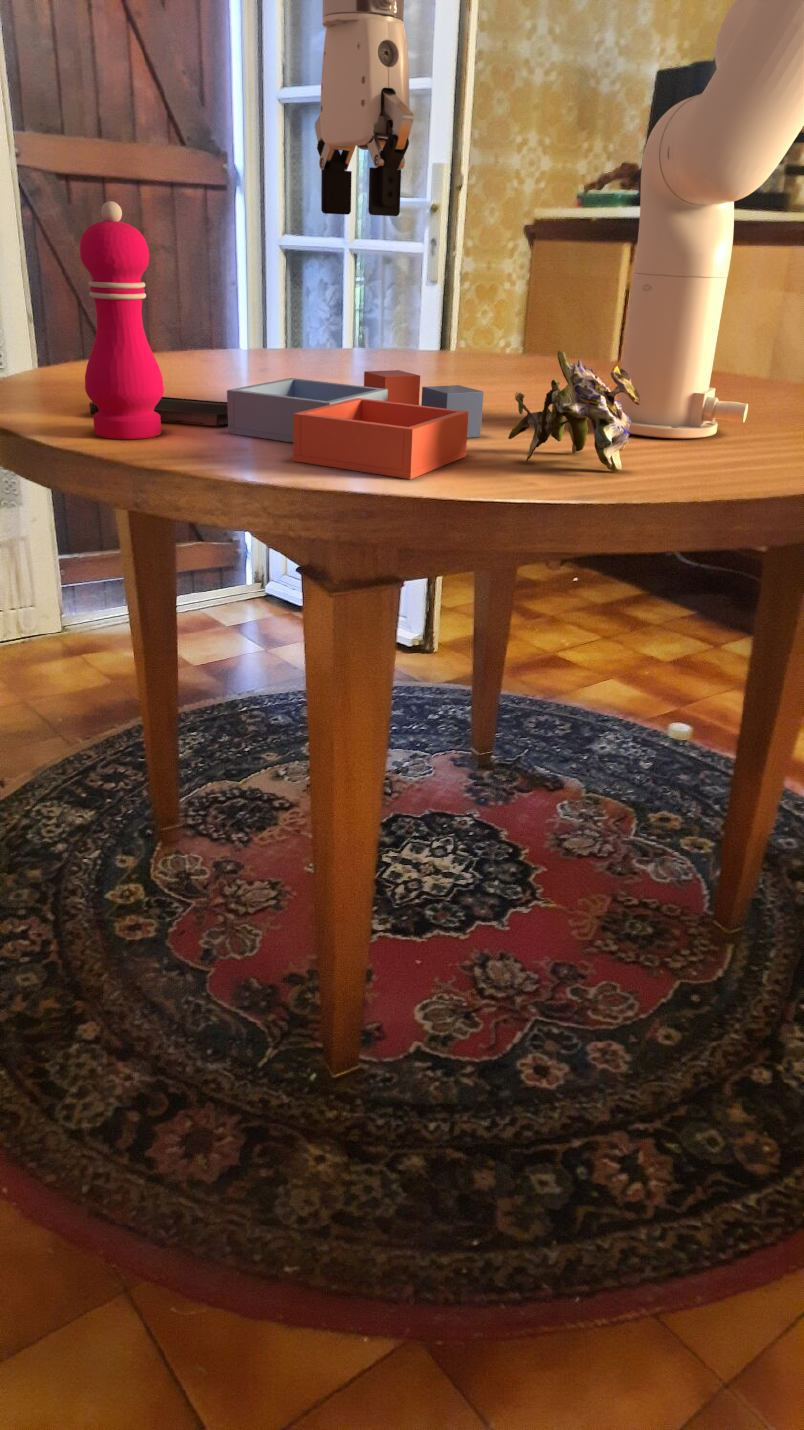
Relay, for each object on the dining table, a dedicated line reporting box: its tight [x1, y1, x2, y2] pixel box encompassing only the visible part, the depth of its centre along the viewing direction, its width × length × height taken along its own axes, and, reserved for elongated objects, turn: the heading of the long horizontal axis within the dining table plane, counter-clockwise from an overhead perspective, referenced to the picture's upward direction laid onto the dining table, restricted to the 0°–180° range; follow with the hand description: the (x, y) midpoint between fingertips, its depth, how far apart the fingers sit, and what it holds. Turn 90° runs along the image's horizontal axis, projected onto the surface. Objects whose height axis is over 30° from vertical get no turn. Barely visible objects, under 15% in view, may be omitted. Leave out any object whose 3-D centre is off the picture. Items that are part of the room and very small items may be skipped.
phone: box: [89, 396, 228, 427], centre depth 107 cm, size 8×1×15 cm
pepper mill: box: [79, 200, 165, 440], centre depth 94 cm, size 7×7×20 cm
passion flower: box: [507, 350, 641, 473], centre depth 92 cm, size 11×11×12 cm
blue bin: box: [226, 377, 388, 444], centre depth 102 cm, size 12×12×4 cm
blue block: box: [420, 384, 485, 439], centre depth 104 cm, size 4×4×4 cm
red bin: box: [292, 398, 469, 480], centre depth 91 cm, size 12×12×4 cm
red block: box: [363, 369, 421, 405], centre depth 112 cm, size 4×4×4 cm
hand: (359, 214), depth 102 cm, fingers open, 9 cm apart
